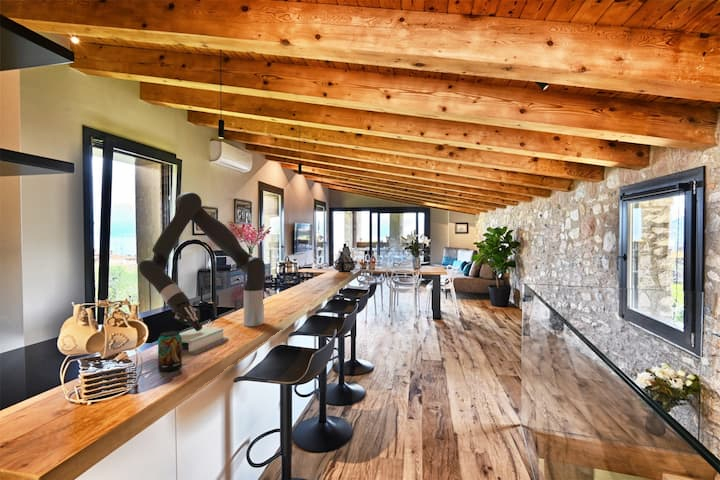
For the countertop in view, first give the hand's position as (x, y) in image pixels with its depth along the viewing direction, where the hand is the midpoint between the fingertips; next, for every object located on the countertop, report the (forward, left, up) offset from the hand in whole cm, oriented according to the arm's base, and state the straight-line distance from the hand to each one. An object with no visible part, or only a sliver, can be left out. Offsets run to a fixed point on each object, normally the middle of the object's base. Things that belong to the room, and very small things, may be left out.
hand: (200, 329), depth 151 cm
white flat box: (0, -2, -6) cm, 7 cm away
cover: (0, -2, -2) cm, 3 cm away
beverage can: (+24, +8, -7) cm, 26 cm away
